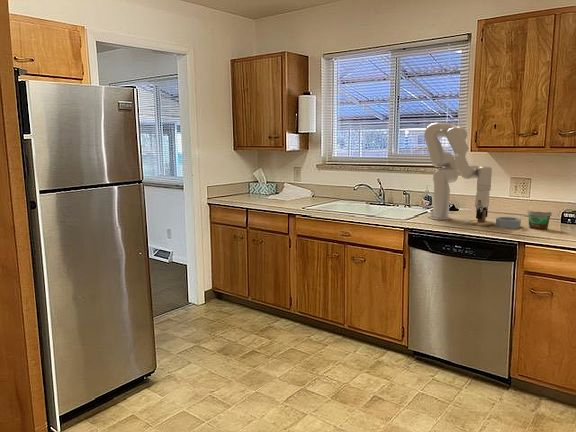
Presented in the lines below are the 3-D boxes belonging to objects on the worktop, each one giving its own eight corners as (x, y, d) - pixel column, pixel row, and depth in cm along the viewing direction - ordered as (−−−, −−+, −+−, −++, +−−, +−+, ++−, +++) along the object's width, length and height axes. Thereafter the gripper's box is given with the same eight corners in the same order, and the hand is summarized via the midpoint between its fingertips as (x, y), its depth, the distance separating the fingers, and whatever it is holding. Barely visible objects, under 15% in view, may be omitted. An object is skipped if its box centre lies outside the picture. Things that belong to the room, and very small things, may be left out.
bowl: (493, 227, 269) (493, 218, 268) (500, 224, 278) (501, 216, 277) (515, 230, 261) (516, 221, 260) (522, 227, 270) (522, 218, 269)
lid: (465, 224, 276) (466, 210, 275) (474, 220, 286) (475, 207, 284) (488, 227, 267) (489, 212, 266) (497, 223, 277) (498, 210, 275)
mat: (462, 225, 276) (462, 224, 276) (472, 221, 287) (472, 220, 287) (488, 228, 266) (488, 227, 266) (497, 224, 277) (497, 223, 277)
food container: (524, 228, 265) (526, 211, 263) (526, 226, 270) (527, 209, 269) (549, 231, 258) (551, 213, 257) (550, 229, 263) (552, 211, 262)
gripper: (482, 186, 282) (480, 215, 285) (471, 188, 269) (469, 219, 272) (495, 187, 277) (493, 216, 280) (484, 189, 264) (482, 220, 267)
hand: (481, 217), depth 276 cm, fingers open, 7 cm apart
